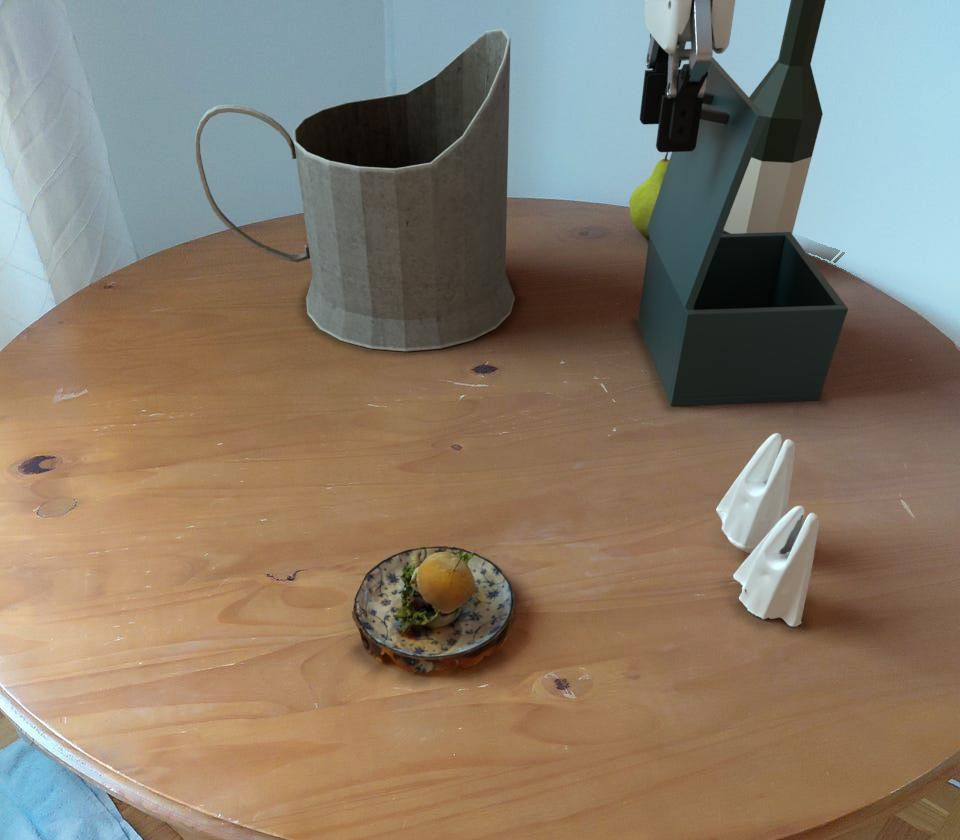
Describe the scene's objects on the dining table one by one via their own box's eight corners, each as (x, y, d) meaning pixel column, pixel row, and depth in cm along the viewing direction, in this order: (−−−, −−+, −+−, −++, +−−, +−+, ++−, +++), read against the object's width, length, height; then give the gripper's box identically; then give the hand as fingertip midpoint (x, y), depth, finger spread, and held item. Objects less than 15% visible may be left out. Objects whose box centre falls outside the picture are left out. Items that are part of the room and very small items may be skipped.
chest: (768, 318, 97) (790, 231, 90) (819, 400, 86) (848, 308, 79) (637, 322, 96) (649, 235, 90) (670, 406, 85) (687, 314, 78)
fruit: (640, 252, 109) (654, 145, 100) (616, 230, 113) (628, 125, 104) (690, 244, 110) (709, 138, 101) (665, 222, 115) (680, 119, 106)
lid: (712, 55, 78) (660, 44, 78) (767, 117, 67) (707, 104, 66) (653, 231, 89) (607, 223, 89) (692, 309, 78) (640, 301, 77)
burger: (467, 544, 71) (466, 467, 66) (545, 637, 64) (552, 560, 59) (329, 595, 67) (315, 517, 62) (396, 700, 60) (388, 623, 55)
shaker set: (710, 524, 73) (738, 406, 65) (760, 522, 73) (795, 405, 65) (747, 628, 65) (785, 509, 57) (803, 626, 65) (849, 507, 57)
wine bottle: (771, 284, 103) (850, -37, 81) (703, 267, 106) (762, -47, 84) (793, 257, 108) (874, -52, 86) (728, 242, 111) (790, -61, 89)
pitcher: (532, 341, 94) (545, 68, 75) (226, 366, 90) (162, 86, 72) (493, 248, 109) (497, 3, 91) (232, 266, 106) (180, 15, 87)
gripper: (794, -130, 56) (736, 172, 70) (724, -160, 68) (686, 103, 81) (678, -128, 56) (642, 175, 69) (628, -159, 68) (605, 105, 81)
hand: (666, 134), depth 75 cm, fingers closed on lid, 6 cm apart
